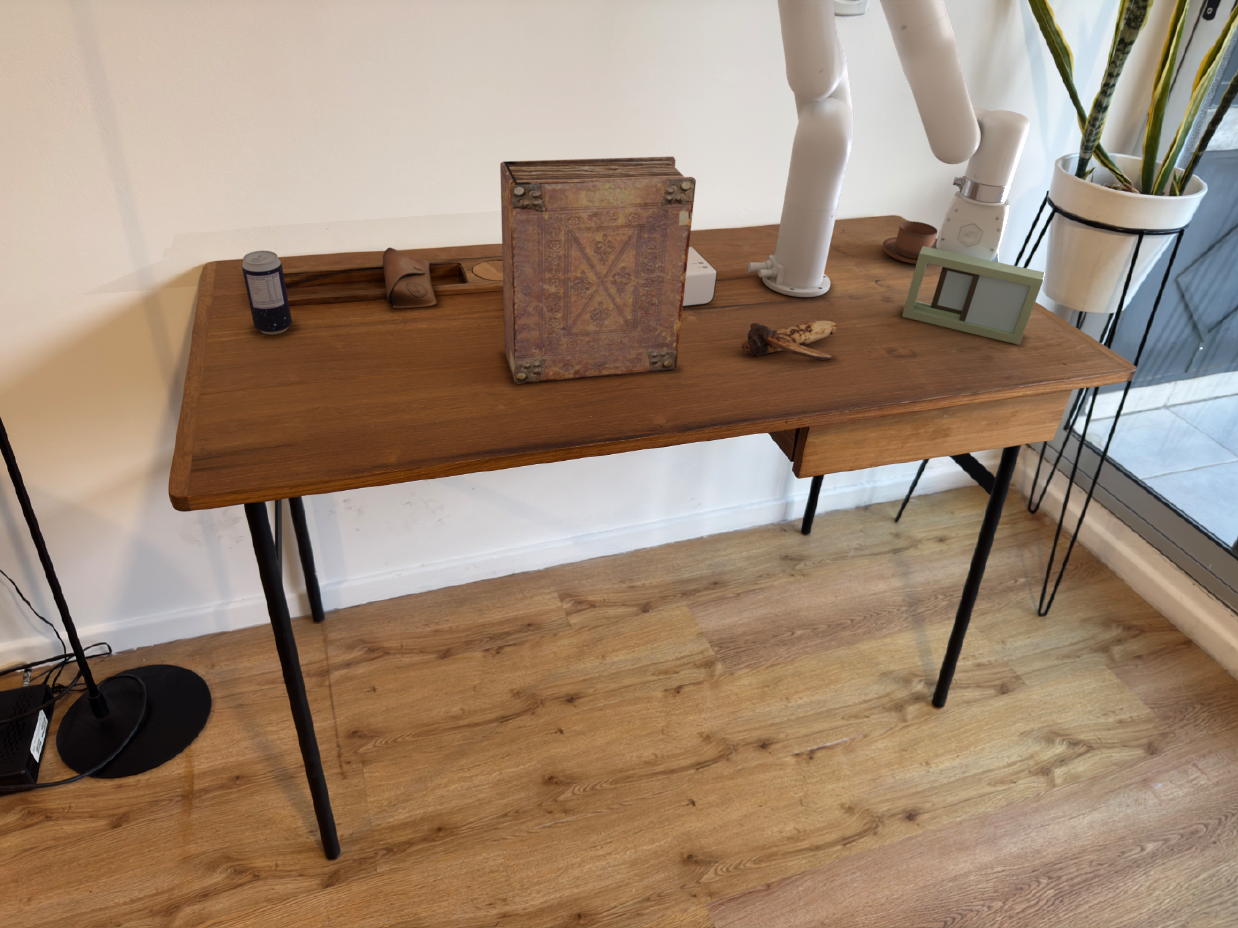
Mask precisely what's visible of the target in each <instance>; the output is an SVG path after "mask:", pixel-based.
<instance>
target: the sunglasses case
mask: <svg viewBox="0 0 1238 928" xmlns="http://www.w3.org/2000/svg"><path fill="white" fill-rule="evenodd" d="M382 264H383V275H384V284H385V294H386V299H387V304H388V305H389V306H390V307H392V308H393V309H396V310H398V309H404V310H405V309H419V308H426V307H427V308H428V307H433V306H436V305H437V304H438V302H437V298H436V294H435V291H434V287H433V284H432V278H431V272H430V264H431V262H430V261H429V260H426V259H423V258H420V257H416V256H413V255H409V254H406V253H403V252H402V251H400V250H397V249H395V248H393V247H387V248H386V249H385V250H384V253H383V254H382Z"/></svg>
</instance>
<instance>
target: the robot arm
mask: <svg viewBox="0 0 1238 928" xmlns="http://www.w3.org/2000/svg"><path fill="white" fill-rule="evenodd" d="M879 2H880V5H881V9H882V11H883V14H884V17H885V20H886V22H887V25H888V29H889V31H890V34H891V37H892V41H893V44H894V47H895V50H896V53H897V56H898V59H899V62H900V65H901V70H902V72H903V74H904V76H905V79H906V81H907V83H908V85H909V88H910V90H911V94H912V96H913V98H914V103H915V105H916V107H917V111H918V114H919V117H920V120H921V123H922V125H923V126H922V127H923V129H924V132H925V135H926V137H927V141H928V144H929V147H930V150H931V152H932V154H933V156H934V157H935V158H936V159H937V160H938V161H940V162H942V163H944V164H947V165H959V164H963V163H964V162H966V161H968V163H967V166H966V169H965V173H964V175H962V176H960V177H957V176H955V177H954V179H953V182H952V185H953V186H955V187H958V190H957V191H955V193H954V194H953V196H952V198H951V200H950V202H949V204H948V206H947V209H946V211H945V213H944V217H943V220H942V223H941V226H940V229H939V232H938V234H937V237H936V239H935V242H934V244H933V245H932V247H931V248H934V249H939V250H943V251H948V252H953V253H957V254H962V255H967V256H971V257H976V258H980V259H985V260H990V261H994V262H999V263H1000V255H999V249H1000V246H1001V243H1002V239H1003V237H1004V232H1005V228H1006V224H1007V221H1008V216H1009V211H1010V210H1009V208H1010V201H1009V200H1008V199H1007V197H1008V194H1009V191H1010V189H1011V185H1012V183H1013V179H1014V176H1015V173H1016V170H1017V166H1018V164H1019V161H1020V158H1021V154H1022V151H1023V148H1024V147H1025V142H1026V139H1027V136H1028V133H1029V129H1030V120H1029V118H1027V116H1025V115H1024V114H1022V113H1019V112H1016V111H1012V110H1004V109H1003V110H1002V109H994V110H990V109H986V108H982V107H978V106H975V105H973V103H972V100H971V96H970V94H969V90H968V87H967V83H966V80H965V76H964V74H963V69H962V65H961V61H960V55H959V49H958V43H957V39H956V36H955V31H954V29H953V26H952V23H951V20H950V16H949V13H948V9H947V7H946V4H945V3H946V2H945V0H879ZM777 9H778V15H779V22H780V32H781V39H782V46H783V53H784V54H783V55H784V59H785V61H784V62H785V75H786V80H787V84H788V87H790V90H791V91H792V92H793V96H794V102H795V109H796V114H797V120H798V122H797V126H796V129H795V134H794V136H793V137H794V138H793V142H792V149H791V155H790V161H789V168H788V174H787V175H788V176H787V181H786V187H785V191H784V197H783V204H782V210H781V216H780V222H779V228H778V232H777V233H778V234H777V238H776V245H775V250H774V254H770V255H769V256H768V260H764V261H763V262H758V261H756V262H755V261H754V262H752V261H751V262H748V263H747V266H746V267H747V269H746V270H747V273H748V274H758V277H759V278H762V279H761V281H762V282H763V284H764V285H765V286H766V287H767V288H769V290H772V291H774V292H776V293H779V294H782V295H786V296H791V297H796V298H813V297H814V298H815V297H819V296H822V295H824V294H825V293H827V292H828V291H829V290H830V287H831V280H830V278H829V276H828V275H826V274H825V270H826V266H827V261H828V256H829V253H830V247H831V242H832V237H833V232H834V228H835V223H836V218H837V213H838V209H839V204H840V198H841V195H842V189H843V185H844V181H845V176H846V172H847V169H848V164H849V161H850V157H851V152H852V149H853V148H852V147H853V142H854V141H853V140H854V124H855V122H854V110H853V109H854V108H853V102H852V94H851V85H850V79H849V70H848V60H847V55H846V49H845V46H844V44H843V42H842V40H841V39H840V37H838V32H837V31H838V30H837V25H836V15H835V13H836V12H835V3H834V0H777Z"/></svg>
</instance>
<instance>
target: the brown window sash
mask: <svg viewBox="0 0 1238 928" xmlns="http://www.w3.org/2000/svg"><path fill="white" fill-rule="evenodd" d="M973 275H974V274H973V273H969V272H964V271H960V270H955V269H951V268H946V267H941V271H940V273H939V277H938V280H937V284H936V287H935V291H934V294H933V298H932V301H931V303H930V304H931V307H930V308H934V309H939V310H943V311H947V312H951V313H956V314H960V315H961V312H962V309H963V306H964V303H965V300H966V297H967V294H968V291H969V287H970V284H971V281H972V278H973Z"/></svg>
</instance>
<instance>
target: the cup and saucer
mask: <svg viewBox="0 0 1238 928" xmlns="http://www.w3.org/2000/svg"><path fill="white" fill-rule="evenodd" d="M937 236H938V229H937V228H936V227H935V226H933V225H931V224H928V223H926V222H922V221H913V220H912V221H911V220H910V221H903V222H901V223H900V224H899V228H898V232H897V236H894V237H889V238H887V239H885V240H883V242H882V248H883V250H884V251H885V253H886V254H887V255H888V256H890V258H891V257H892V258H893V259H895V260H897V261H900V262H903V263H906V264H911V265H916V264H917V261H918V257H919V253H920V251H921V249H922V247H923V246H925V247H929V248H931V247H932V245H933V244H934V242H935V241H936V239H937ZM927 265H929V264H928V263H927Z"/></svg>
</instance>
